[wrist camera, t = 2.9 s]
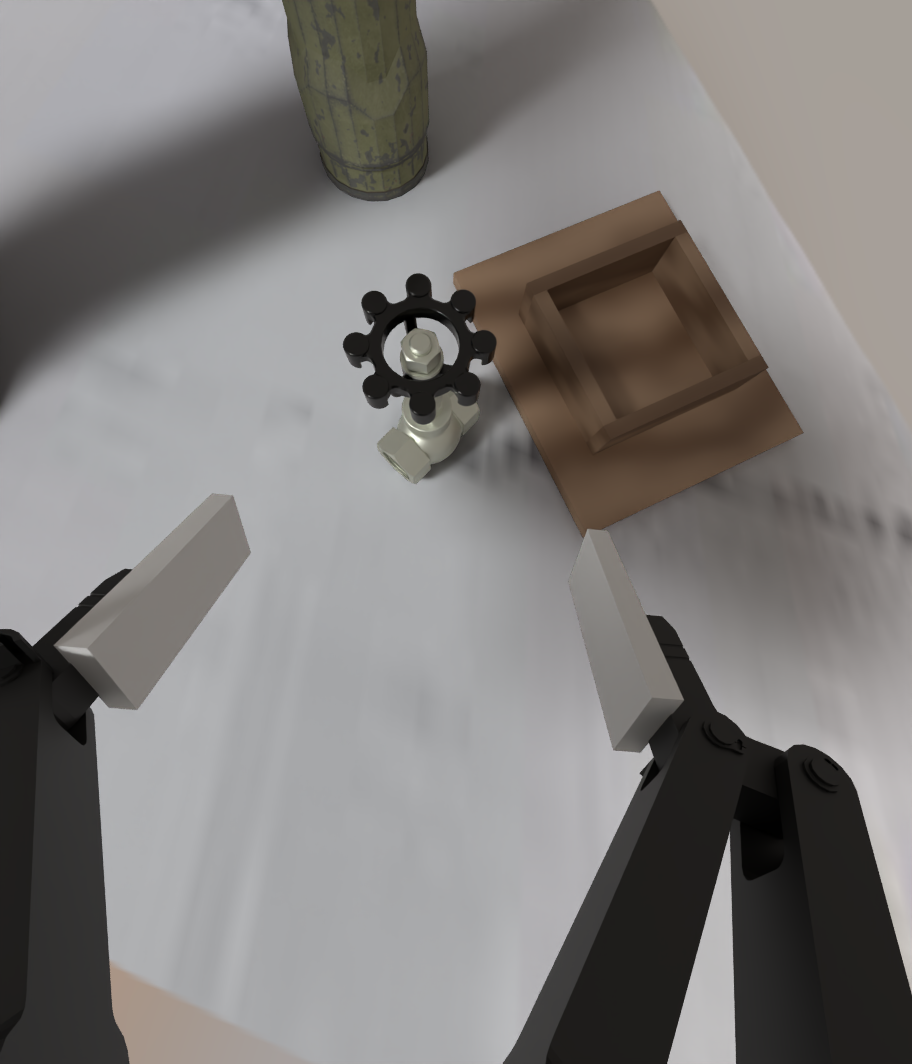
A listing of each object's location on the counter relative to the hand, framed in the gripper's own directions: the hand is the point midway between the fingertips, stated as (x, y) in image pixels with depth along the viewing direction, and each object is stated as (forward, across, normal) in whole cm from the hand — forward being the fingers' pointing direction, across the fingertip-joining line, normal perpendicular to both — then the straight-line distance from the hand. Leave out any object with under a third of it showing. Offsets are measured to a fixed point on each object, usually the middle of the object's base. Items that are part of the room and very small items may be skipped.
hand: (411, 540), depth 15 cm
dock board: (+21, +13, +3) cm, 25 cm away
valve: (+15, -1, -3) cm, 15 cm away
